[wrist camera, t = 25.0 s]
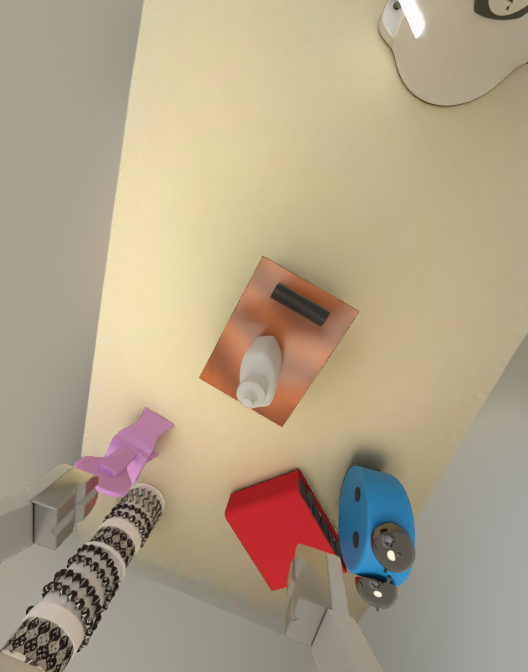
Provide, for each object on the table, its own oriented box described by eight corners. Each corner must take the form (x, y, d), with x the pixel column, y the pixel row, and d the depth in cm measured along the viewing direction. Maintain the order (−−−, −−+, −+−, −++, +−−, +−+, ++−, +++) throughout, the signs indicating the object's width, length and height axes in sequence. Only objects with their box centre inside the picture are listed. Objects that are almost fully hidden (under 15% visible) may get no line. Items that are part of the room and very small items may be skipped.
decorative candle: (154, 526, 52) (25, 739, 28) (118, 500, 52) (-41, 691, 28) (175, 500, 50) (55, 707, 25) (138, 473, 49) (-18, 654, 25)
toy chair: (124, 438, 48) (48, 505, 34) (141, 404, 46) (67, 460, 31) (160, 460, 48) (99, 537, 33) (178, 427, 46) (121, 494, 31)
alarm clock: (367, 517, 44) (399, 633, 29) (332, 507, 44) (347, 616, 30) (389, 456, 41) (438, 552, 26) (352, 446, 41) (379, 534, 27)
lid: (263, 256, 29) (256, 250, 24) (358, 310, 28) (370, 316, 23) (201, 375, 33) (184, 391, 28) (282, 423, 33) (279, 448, 28)
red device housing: (342, 544, 46) (347, 575, 41) (275, 562, 49) (273, 593, 44) (298, 467, 44) (297, 490, 39) (231, 491, 47) (223, 515, 42)
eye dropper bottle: (242, 368, 31) (207, 419, 19) (261, 329, 30) (235, 358, 18) (274, 384, 31) (257, 444, 19) (294, 345, 29) (289, 385, 18)
